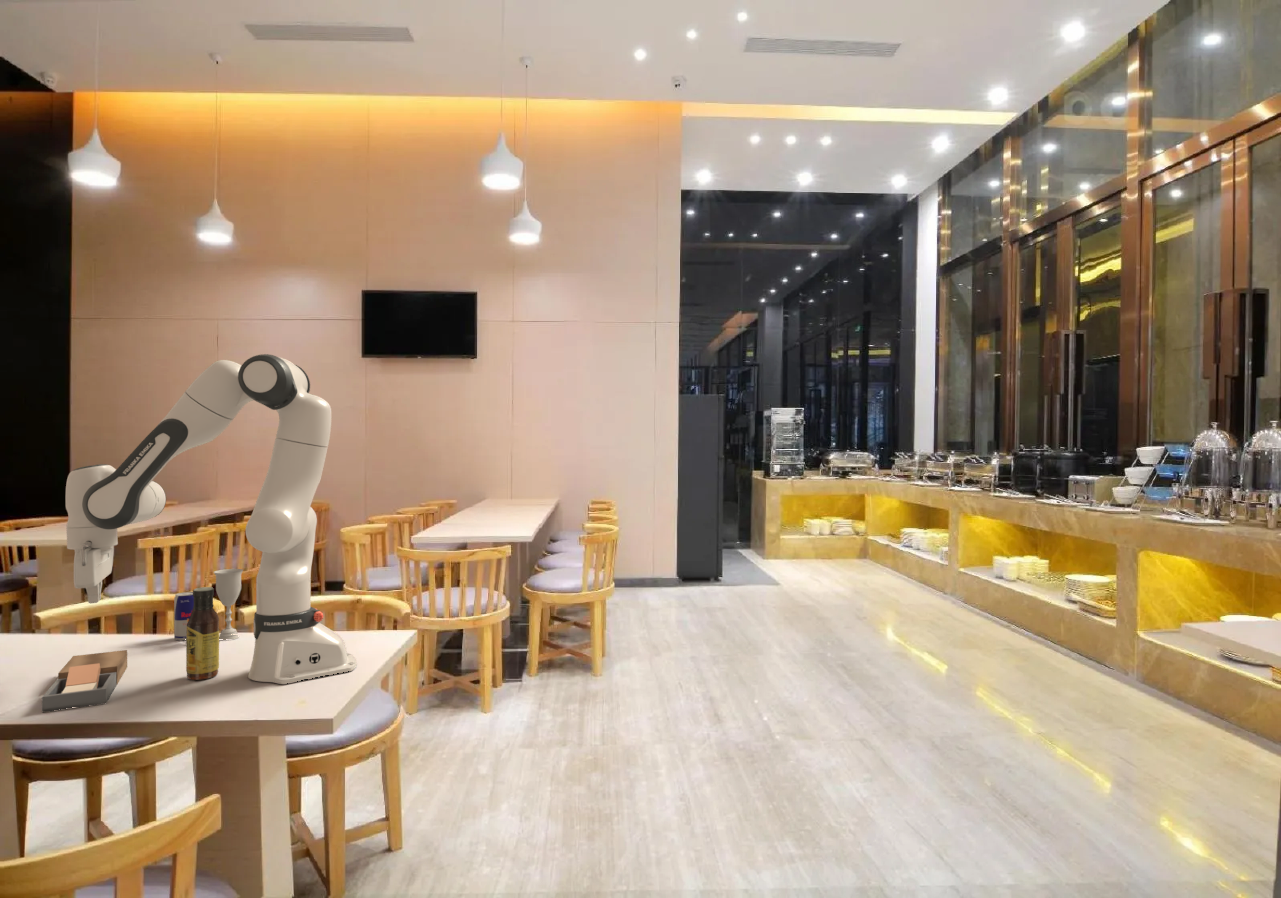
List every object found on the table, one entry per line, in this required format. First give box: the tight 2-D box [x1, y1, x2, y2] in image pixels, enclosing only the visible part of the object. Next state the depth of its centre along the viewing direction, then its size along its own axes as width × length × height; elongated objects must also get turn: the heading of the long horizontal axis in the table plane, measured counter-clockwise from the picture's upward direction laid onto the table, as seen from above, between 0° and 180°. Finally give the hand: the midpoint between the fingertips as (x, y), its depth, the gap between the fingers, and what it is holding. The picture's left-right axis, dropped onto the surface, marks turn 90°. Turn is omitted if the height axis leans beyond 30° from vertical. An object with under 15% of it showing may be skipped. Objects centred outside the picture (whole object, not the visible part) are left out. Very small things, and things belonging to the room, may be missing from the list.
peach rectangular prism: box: [66, 663, 101, 687], centre depth 148 cm, size 5×5×2 cm
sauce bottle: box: [185, 586, 220, 681], centre depth 159 cm, size 6×6×20 cm
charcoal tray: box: [41, 672, 117, 712], centre depth 145 cm, size 10×12×3 cm
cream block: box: [62, 682, 97, 693], centre depth 144 cm, size 5×5×2 cm
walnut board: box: [57, 649, 128, 686], centre depth 157 cm, size 10×14×4 cm
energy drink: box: [173, 591, 194, 641], centre depth 191 cm, size 5×5×12 cm
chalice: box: [213, 568, 244, 641], centre depth 191 cm, size 7×7×18 cm
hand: (94, 602), depth 156 cm, fingers closed
